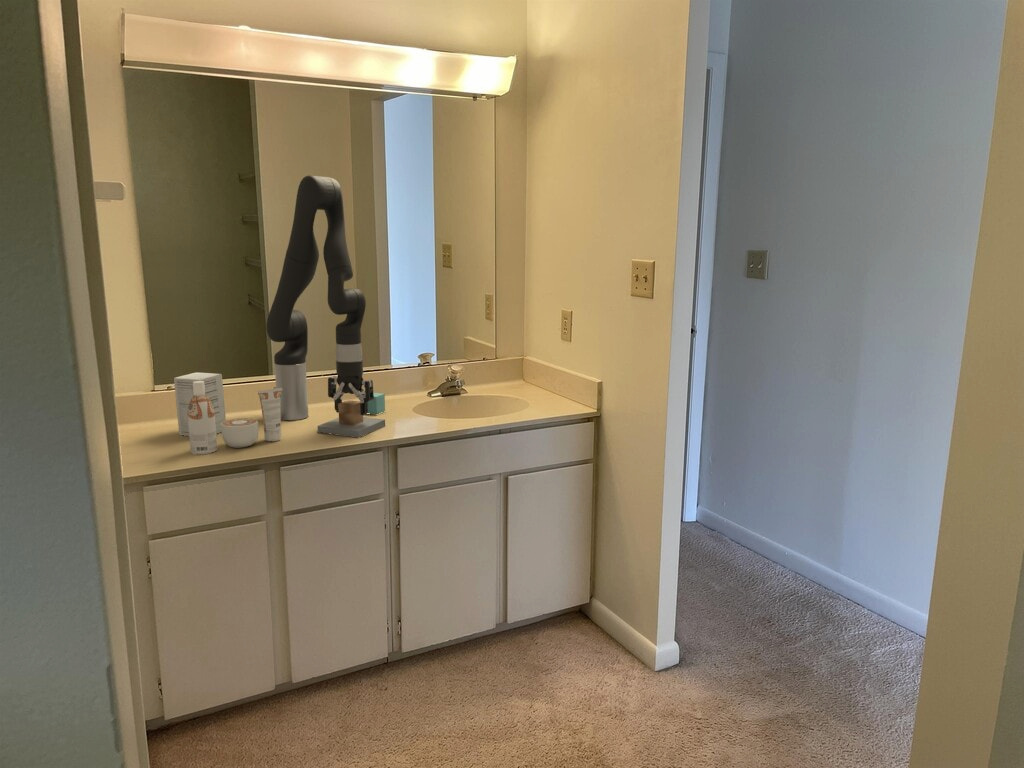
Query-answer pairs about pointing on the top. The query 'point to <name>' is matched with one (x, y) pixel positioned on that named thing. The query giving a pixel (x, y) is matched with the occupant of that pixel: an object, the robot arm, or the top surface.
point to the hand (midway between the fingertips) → (351, 413)
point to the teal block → (377, 404)
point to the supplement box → (186, 393)
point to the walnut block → (350, 412)
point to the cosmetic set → (231, 422)
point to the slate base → (351, 427)
